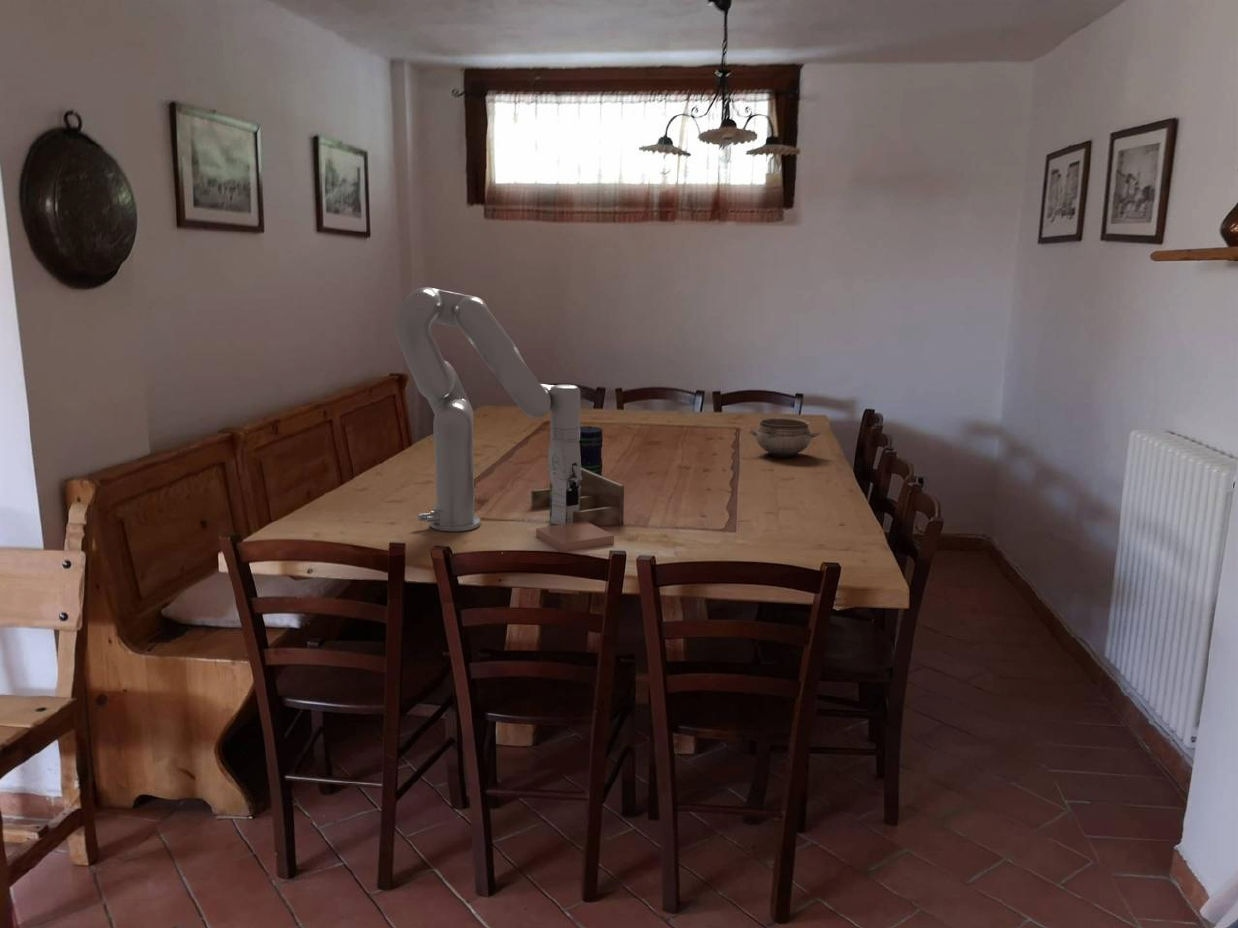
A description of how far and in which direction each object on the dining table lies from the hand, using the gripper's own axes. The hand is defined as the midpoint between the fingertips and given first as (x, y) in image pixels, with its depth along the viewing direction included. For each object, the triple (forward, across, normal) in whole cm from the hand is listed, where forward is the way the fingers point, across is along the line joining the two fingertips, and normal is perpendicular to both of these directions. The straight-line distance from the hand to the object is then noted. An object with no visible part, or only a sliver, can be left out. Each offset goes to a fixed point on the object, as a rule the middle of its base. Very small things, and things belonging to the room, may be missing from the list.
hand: (565, 501), depth 242 cm
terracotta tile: (+6, +14, -5) cm, 16 cm away
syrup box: (+6, 0, 0) cm, 6 cm away
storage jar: (+6, -44, +31) cm, 54 cm away
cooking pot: (+6, -40, +107) cm, 115 cm away
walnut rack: (+6, -6, +7) cm, 11 cm away
